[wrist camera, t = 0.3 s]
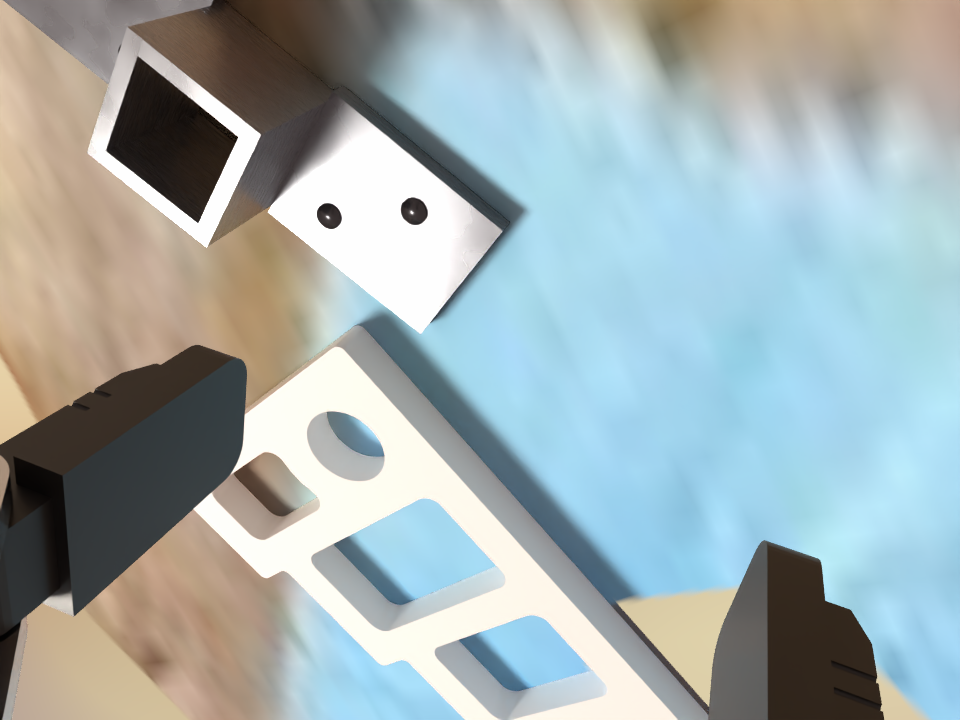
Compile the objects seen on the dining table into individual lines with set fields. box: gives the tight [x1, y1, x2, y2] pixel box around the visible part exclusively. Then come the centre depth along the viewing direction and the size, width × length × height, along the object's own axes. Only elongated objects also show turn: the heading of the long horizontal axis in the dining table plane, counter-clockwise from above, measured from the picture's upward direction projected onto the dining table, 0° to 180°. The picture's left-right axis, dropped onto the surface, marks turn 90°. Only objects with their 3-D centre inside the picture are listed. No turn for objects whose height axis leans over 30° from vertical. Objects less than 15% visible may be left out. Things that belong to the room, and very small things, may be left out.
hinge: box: [3, 0, 510, 334], centre depth 33 cm, size 7×24×6 cm, turn 56°
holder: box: [194, 325, 709, 720], centre depth 49 cm, size 45×18×3 cm, turn 43°
